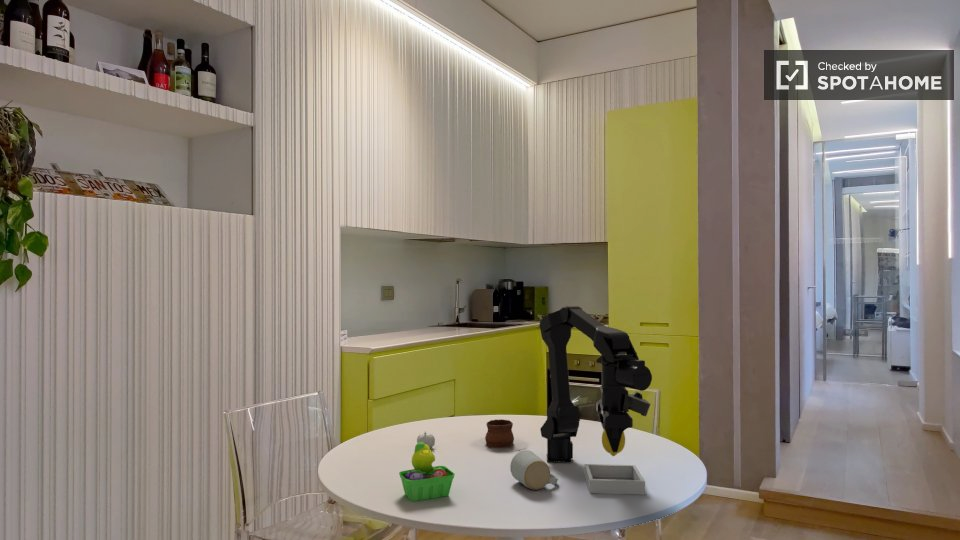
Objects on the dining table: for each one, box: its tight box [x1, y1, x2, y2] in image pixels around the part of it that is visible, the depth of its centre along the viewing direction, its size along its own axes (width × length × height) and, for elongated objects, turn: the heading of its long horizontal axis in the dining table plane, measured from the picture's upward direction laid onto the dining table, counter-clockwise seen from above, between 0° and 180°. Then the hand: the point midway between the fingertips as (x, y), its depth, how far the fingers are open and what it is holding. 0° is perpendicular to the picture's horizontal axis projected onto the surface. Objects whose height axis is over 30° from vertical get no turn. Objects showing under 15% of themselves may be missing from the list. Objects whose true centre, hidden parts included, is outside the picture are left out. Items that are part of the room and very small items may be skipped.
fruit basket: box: [398, 442, 455, 502], centre depth 144 cm, size 11×9×11 cm
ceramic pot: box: [484, 419, 527, 452], centre depth 187 cm, size 18×18×7 cm
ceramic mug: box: [509, 449, 559, 491], centre depth 150 cm, size 11×8×8 cm
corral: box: [584, 463, 646, 496], centre depth 150 cm, size 13×13×3 cm
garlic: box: [416, 430, 436, 449], centre depth 182 cm, size 6×5×5 cm
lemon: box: [601, 429, 626, 457], centre depth 151 cm, size 6×6×8 cm
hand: (613, 448), depth 151 cm, fingers closed on lemon, 5 cm apart
